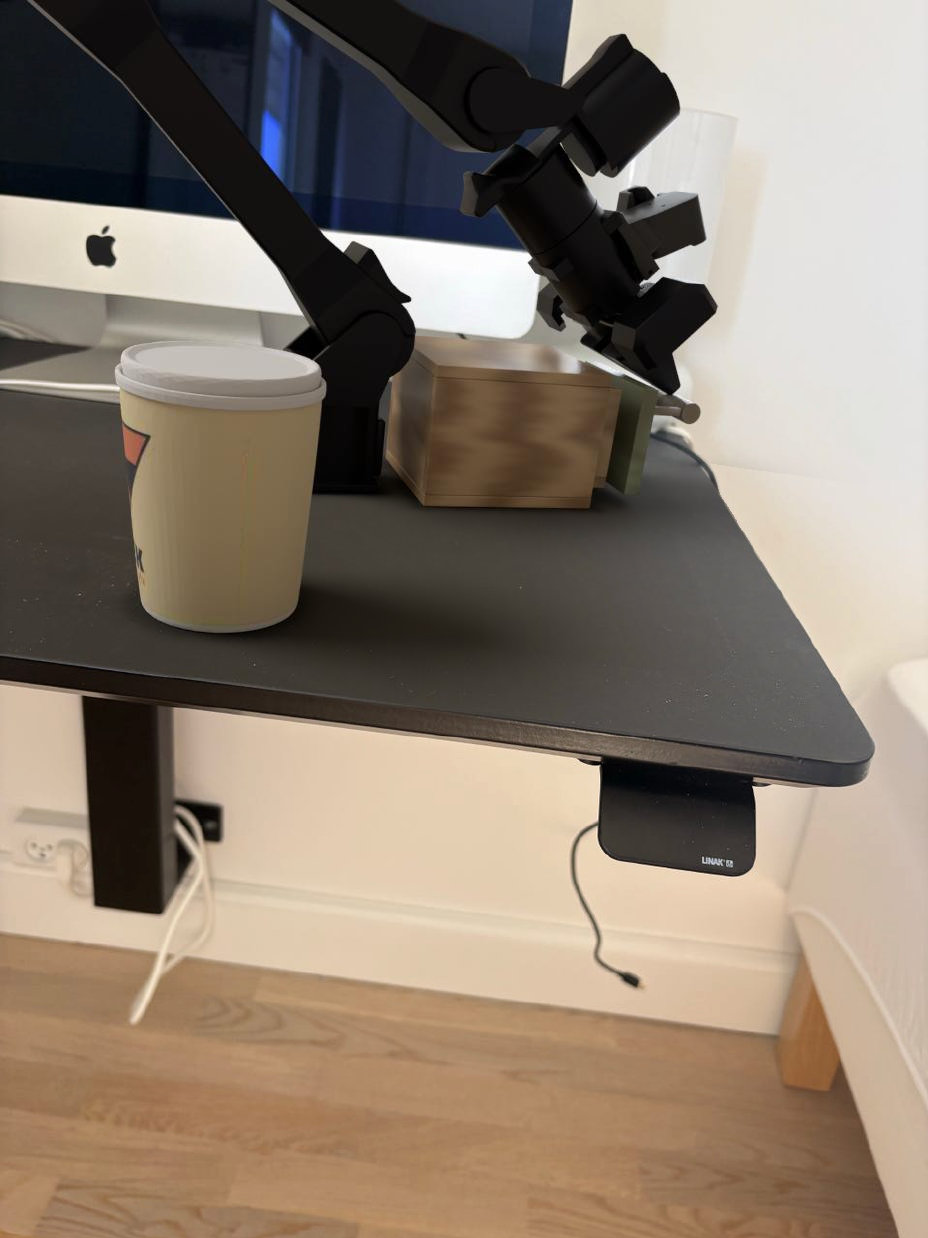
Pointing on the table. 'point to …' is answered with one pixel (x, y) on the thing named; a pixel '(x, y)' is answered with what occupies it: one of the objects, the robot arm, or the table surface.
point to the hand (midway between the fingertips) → (674, 390)
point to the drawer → (632, 428)
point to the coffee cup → (219, 478)
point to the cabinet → (496, 424)
